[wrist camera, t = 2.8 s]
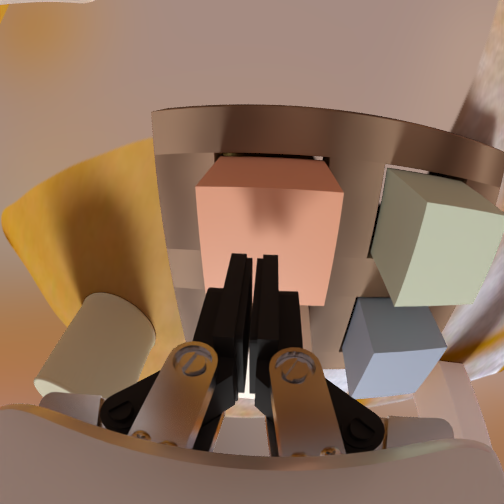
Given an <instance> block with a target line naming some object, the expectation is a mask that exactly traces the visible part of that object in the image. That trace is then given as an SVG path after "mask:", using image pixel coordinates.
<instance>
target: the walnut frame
mask: <svg viewBox="0 0 504 504" xmlns="http://www.w3.org/2000/svg"><path fill="white" fill-rule="evenodd" d="M151 115H152V130H153V143H154V154H155V164H156V174H157V183H158V191H159V199H160V207H161V214H162V221H163V227H164V234H165V240H166V246H167V252H168V258H169V264H170V269H171V275H172V280H173V285H174V290H175V295H176V300H177V305H178V309H179V314H180V318H181V323H182V327H183V332H184V336H185V340H186V342H192V341H193V337H194V334H195V330H196V327H197V323H198V320H199V316H200V313H201V310H202V306H203V303H204V299H205V296H206V293H205V284H204V276H203V267H202V257H201V248H200V238H199V227H198V216H197V203H196V190H195V186H196V185H197V184H198V183H199V181H200V180H201V179H202V178H203V176H204V175H205V174H206V173H207V172H208V170H209V169H210V168H211V167H212V166H213V164H214V163H215V162H216V161H217V160H218V158H219V157H220V156H222V153H274V154H294V155H309V156H322V157H323V161H324V162H325V163H326V165H327V166H328V168H329V169H330V171H331V172H332V174H333V176H334V177H335V179H336V181H337V182H338V184H339V185H340V187H341V189H342V190H343V192H344V196H343V204H342V211H341V217H340V224H339V230H338V236H337V242H336V248H335V253H334V259H333V264H332V270H331V275H330V280H329V285H328V290H327V294H326V299H325V304H324V306H308V309H309V319H310V330H311V342H312V353H313V354H314V355H315V356H316V357H317V358H318V359H319V361H320V363H321V366H322V369H345V363H344V357H343V351H342V346H343V343H344V340H345V337H346V334H347V332H345V331H346V328H347V325H348V322H349V319H350V316H351V313H352V309H353V306H354V303H355V299H356V297H390V295H389V293H388V290H387V288H386V286H385V283H384V281H383V279H382V277H381V274H380V272H379V270H378V268H377V266H376V263H375V261H374V259H373V257H372V255H371V253H370V252H371V248H372V244H373V241H371V237H372V233H373V228H374V223H375V219H376V214H377V209H378V203H379V198H380V192H381V187H382V181H383V174H384V168H385V164H391V165H397V166H403V167H409V168H415V169H421V170H426V171H431V172H436V173H441V174H446V175H448V178H449V179H453V180H458V181H462V182H463V183H465V184H466V185H468V186H469V187H470V188H472V189H473V190H475V191H476V192H478V193H479V194H480V195H482V196H483V197H484V198H486V199H487V200H488V201H490V202H491V203H492V204H494V205H496V202H497V198H498V194H499V190H500V186H501V182H502V178H503V173H504V152H503V151H501V150H499V149H496V148H494V147H492V146H490V145H487V144H484V143H481V142H479V141H476V140H473V139H470V138H467V137H463V136H460V135H457V134H454V133H450V132H447V131H443V130H439V129H436V128H432V127H428V126H424V125H420V124H416V123H411V122H406V121H402V120H397V119H392V118H387V117H382V116H376V115H369V114H363V113H356V112H350V111H342V110H334V109H325V108H324V109H323V108H313V107H302V106H285V105H208V106H207V105H206V106H190V107H177V108H167V109H162V110H157V111H153V112H151ZM428 307H429V309H430V311H431V313H432V315H433V317H434V319H435V321H436V323H437V325H438V328H439V330H440V332H442V331H443V329H444V327H445V325H446V324H447V322H448V320H449V318H450V316H451V314H452V312H453V311H454V309H455V307H456V305H443V306H428Z"/></svg>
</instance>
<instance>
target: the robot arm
mask: <svg viewBox="0 0 504 504" xmlns="http://www.w3.org/2000/svg"><path fill="white" fill-rule="evenodd" d="M252 279H253V258H247V254H242V253H232V254H231V258H230V262H229V266H228V270H227V275H226V279H225V283H224V287H223V288H213V287H209V288H208V290H207V293H206V296H205V299H204V303H203V306H202V310H201V313H200V316H199V320H198V323H197V327H196V330H195V334H194V337H193V341H192V342H185V343H183V344H180V345H178V346H177V347H176V348H174V349H173V350H172V351H171V353H170V354H169V356H168V358H167V359H166V361H165V363H164V365H163V367H162V369H161V370H160V371H158V372H156V373H154V374H153V375H151V376H149V377H147V378H145V379H143V380H141V381H139V382H137V383H135V384H133V385H131V386H129V387H127V388H125V389H123V390H121V391H119V392H117V393H115V394H113V395H111V396H110V397H108V398H102V396H101V395H86V394H73V393H63V392H50V393H48V394H46V395H45V396H44V397H43V398H42V400H41V402H40V404H39V406H36V405H31V404H8V405H4V406H0V504H504V472H503V470H502V467H501V464H500V461H499V459H498V457H497V455H496V453H495V452H494V451H493V450H492V448H491V447H489V446H488V445H486V444H484V443H481V442H478V441H475V440H469V439H457V438H454V432H453V428H452V426H451V425H450V423H449V422H447V421H446V420H444V419H441V418H420V417H399V416H388V417H387V418H380V417H379V416H377V415H376V414H375V413H374V412H372V411H371V410H369V409H368V408H367V407H365V406H364V405H362V404H361V403H359V402H358V401H357V400H355V399H354V398H352V397H351V396H349V395H348V394H347V393H345V392H344V391H342V390H341V389H340V388H338V387H337V386H335V385H334V384H333V383H331V382H330V381H329V380H327V379H326V378H325V377H324V373H323V370H322V366H321V363H320V361H319V359H318V358H317V357H316V356H315V355H314V354H313V353H312V352H310V351H308V350H306V349H303V340H302V327H301V315H300V304H299V294H298V291H279V274H278V255H266V254H263V258H257V265H256V275H255V285H254V296H253V306H252ZM248 354H249V393H250V394H255V406H256V407H257V408H258V409H259V410H260V411H261V412H262V413H263V414H264V415H265V417H264V418H265V425H266V434H267V442H268V450H269V457H264V456H263V457H262V456H245V455H232V454H223V453H214V452H213V450H214V446H215V444H216V440H217V437H218V434H219V432H220V429H221V426H222V422H223V420H224V417H225V411H226V410H227V409H229V408H230V407H232V406H233V405H235V401H238V394H239V393H245V384H246V374H247V364H248Z"/></svg>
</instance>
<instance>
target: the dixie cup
mask: <svg viewBox="0 0 504 504" xmlns="http://www.w3.org/2000/svg"><path fill="white" fill-rule="evenodd" d="M92 1H94V0H0V5H2V4H11V3H25V2H74V3H88V2H92Z"/></svg>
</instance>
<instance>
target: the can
mask: <svg viewBox="0 0 504 504" xmlns="http://www.w3.org/2000/svg"><path fill="white" fill-rule="evenodd" d="M155 340H156V335H155V331H154V328H153V326H152V324H151V323H150V321H149V320H148V318H147V317H146V316H145V315H144V314H143V313H142V312H141V311H140V310H139V309H138V308H137V307H135V306H134V305H133V304H131V303H130V302H128V301H126V300H125V299H123V298H121V297H118V296H116V295H113V294H109V293H101V292H100V293H93V294H91V295H89V296H88V297H86V299H85V300H84V302H83V305H82V306H81V308H80V310H79V311H78V313H77V314H76V316H75V317H74V319H73V320H72V322H71V323H70V325H69V326H68V328H67V330H66V331H65V333H64V334H63V335H62V337H61V339H60V340H59V342H58V343H57V345H56V346H55V348H54V350H53V351H52V353H51V354H50V356H49V358H48V359H47V361H46V362H45V364H44V366H43V367H42V369H41V370H40V372H39V374H38V375H37V377H36V378H35V379H34V385H35V387H36V389H37V390H38V391H39V393H40V394H41V395H42V396H43V397H44V396H45V395H46V394H48V393H50V392H63V393H73V394H86V395H101V396H102V398H108V397H110V396H111V395H113V394H115V393H117V392H119V391H121V390H123V389H125V388H127V387H129V386H131V385H133V384H135V383H137V381H138V379H139V376H140V374H141V371H142V369H143V366H144V364H145V361H146V359H147V357H148V355H149V352H150V350H151V348H152V347H153V346H154V344H155Z"/></svg>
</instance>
